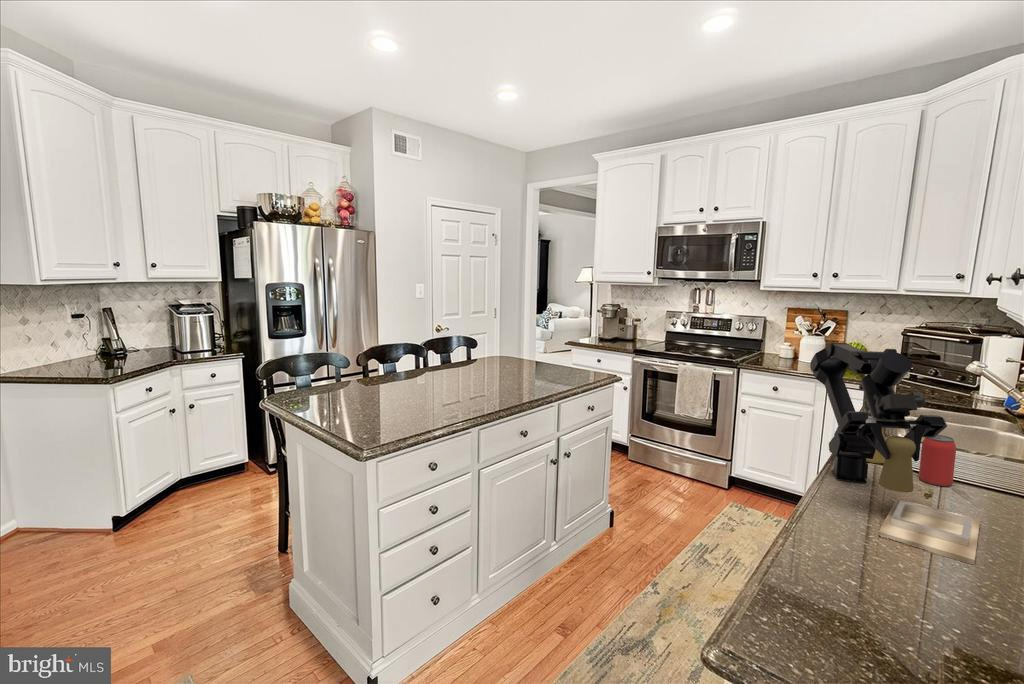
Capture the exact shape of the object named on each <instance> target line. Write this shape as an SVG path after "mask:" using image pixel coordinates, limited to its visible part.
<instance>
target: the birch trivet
mask: <svg viewBox="0 0 1024 684" xmlns="http://www.w3.org/2000/svg"><path fill="white" fill-rule="evenodd" d="M900 501H903V502H907V503H911V504H915V505H919V506H923V507H927V508H931V509H935V510H939V511H943V512H947V513H951V514H955V515H959V516H963V517H967V518H971V519H972V522H971V529H970V535H969V541H968V546H963V545H960V544H956V543H953V542H949V541H946V540H942V539H939V538H935V537H931V536H928V535H924V534H921V533H917V532H914V531H910V530H907V529H903V528H900V527H896V526H892V525H891V518H892V516H893V514H894V512H895V510H896V508H897V506H898V504H899V502H900ZM901 519H903V520H907V521H910V522H914V523H918V524H921V525H925V526H929V527H932V528H936V529H940V530H944V531H947V532H951V533H955V534H958V535H962V530H963V525H960V524H956V523H952V522H948V521H944V520H941V519H937V518H933V517H929V516H925V515H921V514H917V513H914V512H910V511H906V510H905V511H904V513H903V515H902V517H901ZM980 525H981V519H980V518H977V517H973V516H969V515H964V514H960V513H958V512H957V513H956V512H952V511H949V510H946V509H945V510H944V509H942V508H941V509H940V508H937V507H933V506H929V505H925V504H921V503H916V502H912V501H909V500H904V499H900V498H896V499H895V501H894V503H893V505H892V507H891V508H890V510H889V512H888V514H887V516H886V518H885V519H884V521H883V523H882V524H881V527H880V529H879V530H878V535H880V536H883V537H887V538H890V539H893V540H897V541H901V542H904V543H907V544H910V545H914V546H917V547H921V548H924V549H926V550H928V551H927V552H929V551H930V552H929V553H932V554H936V555H940V556H942V557H945V558H949V559H953V560H957V561H960V562H963V563H965V564H969V565H972V564H973V565H972V566H975V563H974V562H976V555H977V554H976V553H977V547H978V546H977V545H978V540H979V532H980ZM878 535H877V536H878Z"/></svg>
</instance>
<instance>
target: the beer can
mask: <svg viewBox="0 0 1024 684" xmlns="http://www.w3.org/2000/svg"><path fill="white" fill-rule="evenodd" d="M956 453H957V445H956V442H955V439H954V438H953V437H950V436H947V435H942V434H938V435H937V436H936V437H932V438H927V437H924V439H923V441H921V448H920V458H919V460H920V461H919V472H918V478H919V479H920V480H921V481H922V482H923V483H926V484H929V485H932V486H935V487H937V486H938V487H949V486H953V484H954V476H955V475H954V473H955V467H956V464H955V463H956V455H957V454H956Z"/></svg>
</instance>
